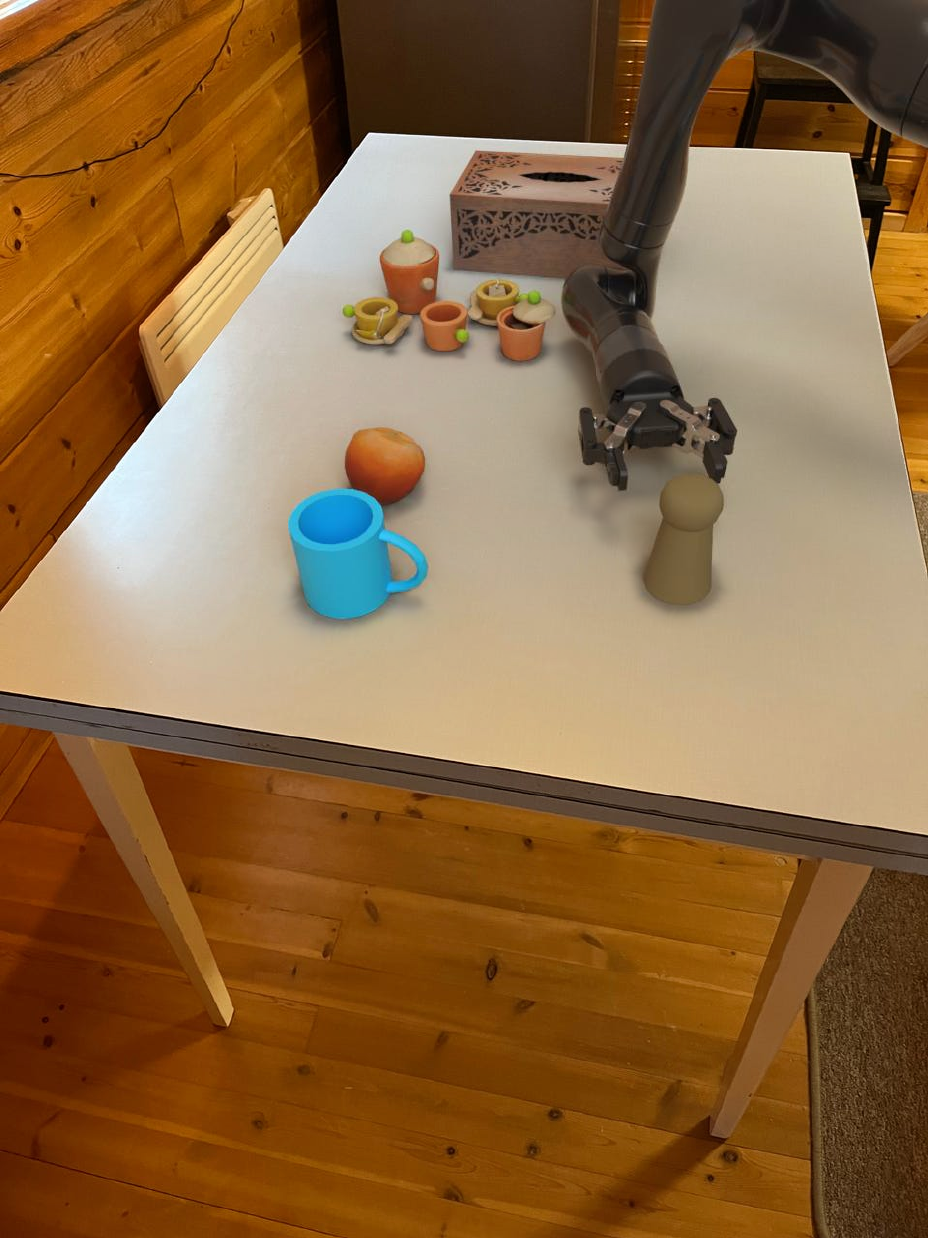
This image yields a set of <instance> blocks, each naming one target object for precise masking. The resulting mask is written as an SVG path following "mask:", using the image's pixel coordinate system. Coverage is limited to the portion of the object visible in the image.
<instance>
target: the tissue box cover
mask: <svg viewBox="0 0 928 1238" xmlns="http://www.w3.org/2000/svg"><path fill="white" fill-rule="evenodd" d="M623 158H624V157H611V156H592V155H591V156H590V155H573V154H571V155H570V154H555V153H553V154H552V153H550V154H549V153H534V152H533V153H532V152H516V151H515V152H513V151H493V150H492V151H491V150H474V152H473V154H472V155H471V157H470V159H469V161H468V163H467V164H466V166H465V168H464V170H463V171H462V173H461V174H460V176H459V178H458V180H457V182H456V183H455V185H454V186H453V188H452V190H451V192H450V193H449V207H450V210H449V211H450V226H451V227H450V228H451V245H452V264H453V265H452V266H453V270H458V271H471V272H484V273H497V274H509V275H510V274H511V275H522V276H535V277H536V276H537V277H549V278H563V279H567V277H568V276H569V274H570V273H571V272H572V271H573V270H575V269H576V268H578V267H580V266H582V265H589V264H592V265H600V266H607V267H615V268H622V269H628V268H625V267H623V266H621V265H618V264H616V263H615V262H613V261H611V260H610V259H608V258H607V257H606V256H605V255H604V254H603V253H602V251H601V249H600V247H599V243H598V237H599V232H600V228H601V225H602V222H603V219H604V216H605V213H606V210H607V207H608V204H609V201H610V198H611V195H612V192H613V189H614V186H615V183H616V180H617V177H618V174H619V171H620V168H621V165H622V162H623Z"/></svg>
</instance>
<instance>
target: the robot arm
mask: <svg viewBox="0 0 928 1238" xmlns="http://www.w3.org/2000/svg"><path fill="white" fill-rule="evenodd" d="M746 51H755V52H759V53H765V54H768V55H773V56H775V57H779V58H782V59H786V60H789V61H791V62H793V63H794V62H795V63H797V64H800V65H803V66H805V67H808V68H810V69H812V70H814V71H815V72H817V73H820V74H821V75H823V76H824V77H826V78H827V79H828V80H830V81H831V82H832V83H833V84H835V86H836V87H838V88H839V90H841V91H842V93H844V94H845V95H846V96H847V98H849V100H850V101H851V102H852V103H853V104H854V105H855V106H856V108H858V109H859V110H860V111H861V112H862V113H863V114H864V115H865V116H867V117H868V118H869V120H871V121H873V122H874V123H875V124H877V125H878V126H879V127H881V128H882V129H884V130H885V131H888V132H890V133H891V134H894V135H895V136H897V137H899V138H902V139H905V140H907V141H910V142H912V143H914V144H917V145H919V146H922V147H924V148H926V149H928V0H654V3H653V7H652V13H651V18H650V23H649V29H648V35H647V41H646V46H645V53H644V60H643V65H642V70H641V75H640V80H639V84H638V85H639V86H638V90H637V97H636V101H635V106H634V112H633V117H632V123H631V127H630V130H629V134H628V140H627V144H626V147H625V152H624V153H623V157H622V158H623V162H622V165H621V168H620V171H619V174H618V177H617V180H616V183H615V186H614V189H613V192H612V195H611V198H610V201H609V204H608V207H607V210H606V213H605V216H604V219H603V222H602V225H601V228H600V232H599V237H598V243H599V247H600V249H601V251H602V253H603V254H604V255H605V256H606V257H607V258H608V259H610V260H611V261H613V262H615V263H616V264H618V265H621V266H623V267H625V268H628V269H622V268H615V267H607V266H600V265H592V264H589V265H582V266H580V267H578V268H576V269H575V270H573V271H572V272H571V273H570V274H569V276H568V277H567V278H565V281H564V283H563V285H562V288H561V296H560V303H561V310H562V315H563V317H564V320H565V322H566V325H567V327H568V328H569V329H570V331H571V332H572V333H573V335H574V336H575V337H576V338H577V339H578V340H579V341H580V342H581V343H582V345H583V346H584V347H585V348H586V349H587V350H588V351H589V352H590V353H591V356H592V358H593V359H592V360H593V363H594V365H595V376H596V377H595V378H596V381H597V383H596V385H597V389H598V391H599V394H600V395H601V397H602V398H601V399H602V401H603V405H604V409H605V413H595V414H594V413H593V409H592V408H591V407H589V406H588V407H587V406H585V407H581V408H579V411H578V412H579V413H578V426H577V427H578V431H577V432H578V433H577V434H578V439H579V446H580V453H581V460H582V463H583V464H584V465H585V466H588V467H589V466H590V467H591V466H594V465H595V464H596V463H598V464H602V466H603V467H604V468H605V472H606V476H607V479H608V483H609V485H611V486H612V487H616V489H617V492H625V491H627V489H628V482H629V481H628V480H629V471H628V468H627V464H626V461H625V459H626V458H627V457H628V456H629V455H630V453H631V452H632V451H633V450H634V449H635V448H638V449H639V450H649V449H652V448H671V447H673V448H675V449H677V450H678V451H681V452H682V453H684V454H686V455H689V454H691V453H693V454H694V455H696V456H697V457H700V458H702V463H703V466H704V469H705V472H706V474H707V477H709V478H711V479H713V480H714V481H715V482H716V483H717V484H718V485H720V484H721V482H722V479H724V478H725V476H726V471H727V466H728V460H727V457H726V456H731V455H732V454H734V448H735V441H736V438H737V435H738V429H737V427H736V425H735V423H734V422H733V420H732V418H731V416H730V414H729V413H728V411H727V409H726V408H725V406H724V404H723V402H722V400H721V399H720V398H718V397H711V398H709V399H708V401H707V405H701V406H694V407H693V405H692V404H691V403H690V402H687V400H686V399H685V397H684V393H683V390H682V387H681V385H680V382H679V379H678V376H677V374H676V372H675V369H674V366H673V365H672V362H671V360H670V357H669V354H668V352H667V350H666V348H665V347H664V345H663V344H662V343H661V340H660V339H659V336H658V334H657V331H656V330H655V326H654V324H653V322H652V318H653V316H654V314H655V309H656V299H657V282H658V274H659V268H660V264H661V263H660V262H661V258H662V254H663V250H664V246H665V244H666V242H667V239H668V237H669V235H670V233H671V230H672V227H673V225H674V222H675V219H676V217H677V215H678V212H679V209H680V206H681V204H682V202H683V198H684V194H685V190H686V186H687V180H688V172H689V157H690V145H691V139H692V133H693V129H694V125H695V122H696V119H697V116H698V113H699V110H700V108H701V106H702V104H703V101H704V99H705V97H706V95H707V94H708V92H709V90H710V88H711V86H712V84H713V82H714V80H715V79H716V77H717V76H718V73H719V72H720V70H721V69H722V67H723V65H724V63H725V62H726V61H728V60H730V59H731V58H733V57H735V56H738V55H739V54H741V53H744V52H746ZM602 429H606V430H607V431H608V432H609V433H611V434H610V435H609V437H607V439H606V440H605V441H604V442H601V441H600V442H599V441H598V437H597V435H599V434H600V433H601V431H602ZM685 433H686V434H685ZM684 435H685V437H683V436H684ZM700 439H701V440H703V441H704V443H702V442H701V440H700Z"/></svg>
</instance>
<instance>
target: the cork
mask: <svg viewBox="0 0 928 1238" xmlns="http://www.w3.org/2000/svg"><path fill="white" fill-rule="evenodd" d="M659 497H660V498H659V504H658V505H659V511H660V513H661V516H662V519H661V522H660V524H659V528H658V530H657V534H656V537H655V540H654V543H653V546H652V548H651V552H650V555H649V558H648V561H647V564H646V567H645V570H644V573H643V583H644V586H645V589H646V590H647V591H648V592H649V594H650V595H651V596H653V597H655V598H656V599H657V600H659V601H661V602H664V603H667V604H669V605H678V606H685V605H693V604H695V603H697V602H701V601H703V599H704V598H706V597H707V596H708V595H709V593H710V591H711V589H712V572H713V571H712V569H713V542H714V541H713V540H714V539H713V538H714V535H713V534H714V524H715V523H717V521H718V519H719V518H720V516H721V514H722V513H723V510H724V506H725V505H724V503H725V500H724V498H725V497H724V493H723V491H722V489H721V487H720V484H717V483H716V482H715V481H714V480H713V479H711V478H709V477H708V475H704V474H700V473H693V472H688V473H680V474H678V475H675V476H673V478H670V480H668V481H667V482H666V483H665V485H664V486H663V488H662V489H661V491H660V495H659Z"/></svg>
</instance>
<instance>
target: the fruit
mask: <svg viewBox="0 0 928 1238" xmlns="http://www.w3.org/2000/svg"><path fill="white" fill-rule="evenodd" d="M425 469H426V457H425V454H424V449H423V448H422V447H421V446H420V445H419V444H418V443H417V442H416V441H415V440H414V438H413V437H411V436H410V435H407V434H406V433H403V432H402V431H398V430H395V429H393V428H389V427H381V426H379V427H378V426H377V427H371V428H365V429H359V430H357V431H356V432H354V433H353V435H352V438H351V439H350V442H349V444H348V446H347V448H346V451H345V454H344V471H345V474H346V477H347V480H348V483H349V485H350V487H351V489H354V490H357V491H361V492H365V493H366V494H368V495H370V496H372V497H373V498H375V499H376V501H377V502H378V503H379V504H380V505H381V506H382V505H388V504H392V503H397V502H399V501H401V500H402V499H404V498H405V497H406V496H407V495H409V494H410V493H411V492H412V491H413V490H414V488H415V487H416V486H417V484H418V483H419V481H420V480H421V478H422V475H423V474H424V472H425Z"/></svg>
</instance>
